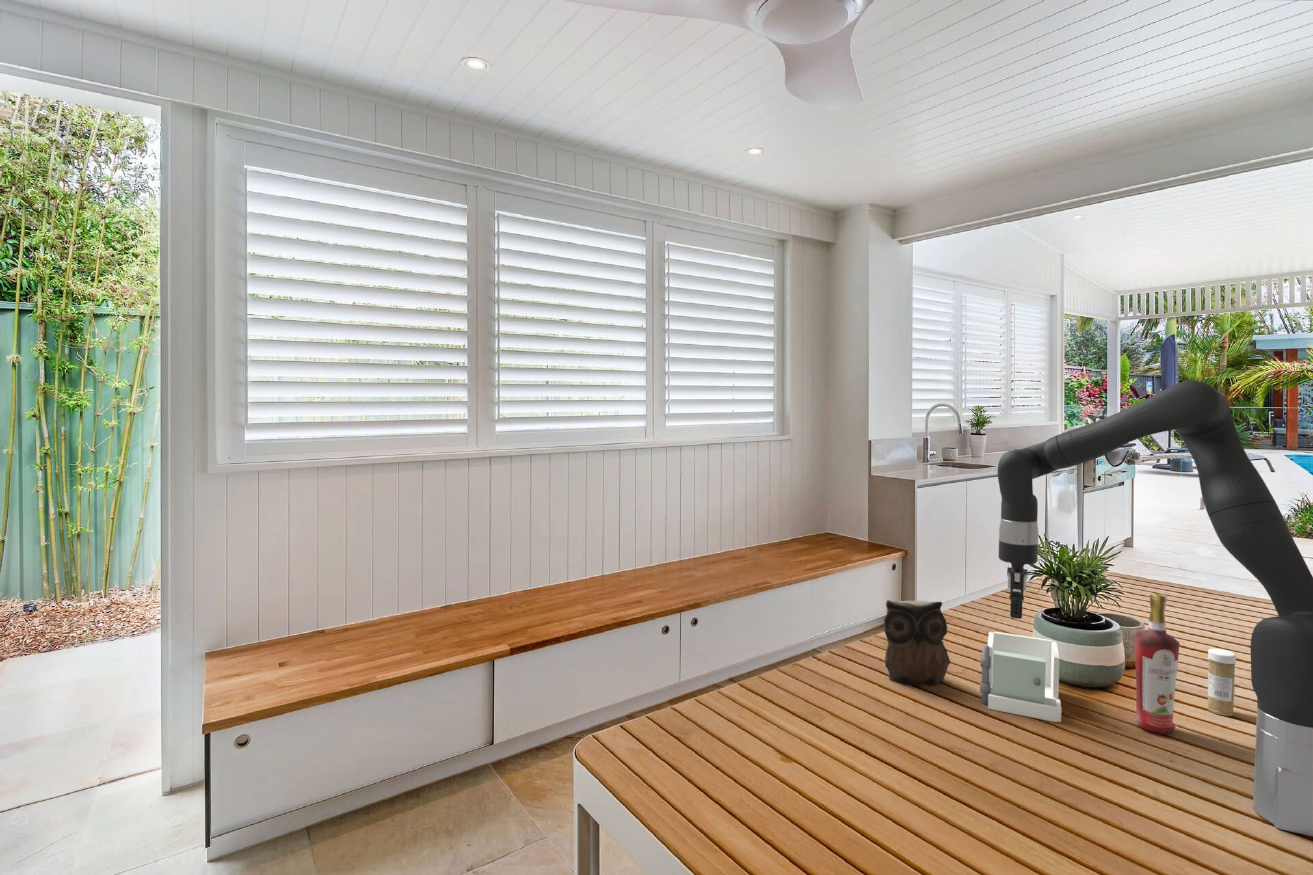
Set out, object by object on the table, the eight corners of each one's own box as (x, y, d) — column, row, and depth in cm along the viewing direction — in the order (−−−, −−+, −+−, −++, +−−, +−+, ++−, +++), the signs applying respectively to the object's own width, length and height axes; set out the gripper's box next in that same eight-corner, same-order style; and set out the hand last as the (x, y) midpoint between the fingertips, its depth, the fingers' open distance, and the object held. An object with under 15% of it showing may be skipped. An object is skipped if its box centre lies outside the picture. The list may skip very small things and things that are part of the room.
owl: (952, 682, 157) (953, 601, 156) (918, 694, 150) (919, 610, 149) (907, 665, 167) (908, 588, 166) (874, 675, 161) (875, 596, 160)
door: (1044, 718, 138) (1045, 663, 138) (992, 708, 143) (993, 655, 143) (1043, 712, 141) (1045, 658, 141) (992, 702, 146) (993, 650, 146)
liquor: (1165, 722, 137) (1170, 591, 135) (1183, 739, 130) (1188, 602, 128) (1125, 717, 139) (1129, 589, 137) (1141, 734, 132) (1145, 599, 130)
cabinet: (1061, 723, 136) (1062, 662, 136) (979, 706, 144) (980, 649, 143) (1056, 691, 152) (1057, 636, 151) (982, 677, 159) (983, 625, 159)
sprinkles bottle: (1237, 713, 141) (1239, 652, 140) (1229, 718, 138) (1232, 657, 137) (1210, 705, 144) (1212, 646, 144) (1202, 710, 142) (1205, 650, 141)
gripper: (1038, 548, 134) (1036, 624, 135) (1037, 535, 146) (1035, 606, 147) (997, 544, 137) (995, 618, 138) (999, 532, 150) (997, 601, 151)
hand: (1016, 612), depth 143 cm, fingers open, 8 cm apart
